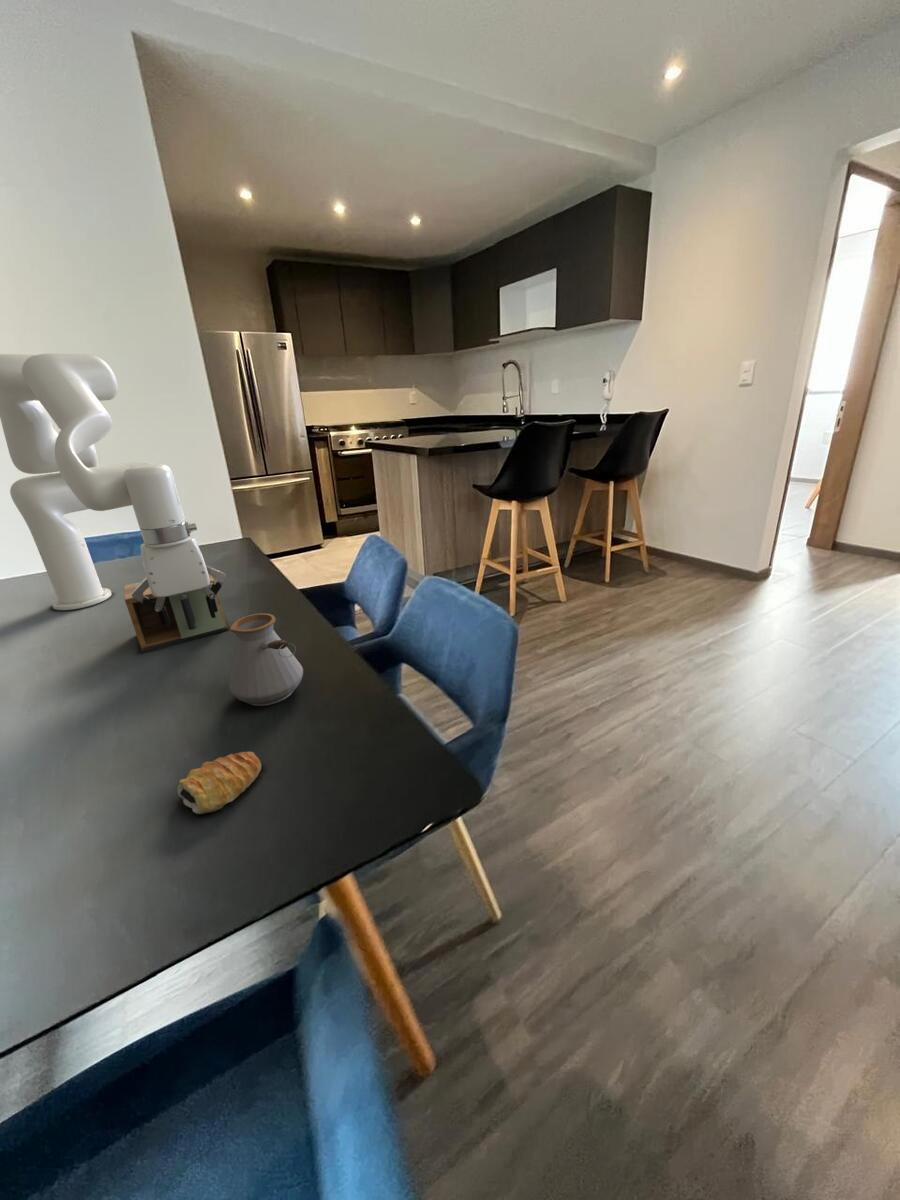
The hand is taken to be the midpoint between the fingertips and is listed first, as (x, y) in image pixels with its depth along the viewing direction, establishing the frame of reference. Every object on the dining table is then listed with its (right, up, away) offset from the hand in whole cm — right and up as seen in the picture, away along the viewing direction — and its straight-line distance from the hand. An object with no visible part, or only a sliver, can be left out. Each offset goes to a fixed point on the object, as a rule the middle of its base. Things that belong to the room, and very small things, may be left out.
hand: (191, 620), depth 97 cm
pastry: (+23, -20, -36) cm, 47 cm away
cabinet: (-6, -3, +9) cm, 11 cm away
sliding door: (+1, -3, +4) cm, 5 cm away
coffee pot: (+25, -13, -20) cm, 34 cm away
